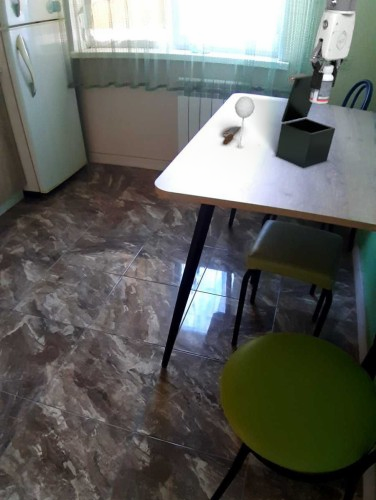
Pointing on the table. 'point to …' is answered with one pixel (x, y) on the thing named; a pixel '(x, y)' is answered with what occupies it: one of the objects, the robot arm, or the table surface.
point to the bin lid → (298, 98)
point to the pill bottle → (323, 87)
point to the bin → (304, 142)
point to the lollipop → (244, 110)
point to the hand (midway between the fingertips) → (322, 86)
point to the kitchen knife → (229, 134)
